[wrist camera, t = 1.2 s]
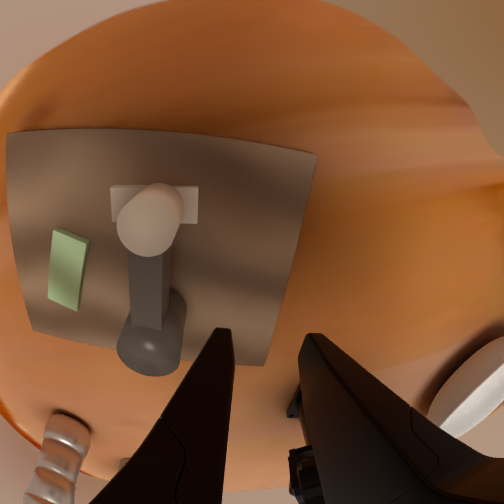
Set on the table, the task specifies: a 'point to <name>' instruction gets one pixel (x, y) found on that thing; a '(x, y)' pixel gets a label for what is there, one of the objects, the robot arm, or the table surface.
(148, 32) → the table surface
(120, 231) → the peg
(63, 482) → the plastic bottle
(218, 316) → the board
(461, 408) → the serving bowl
